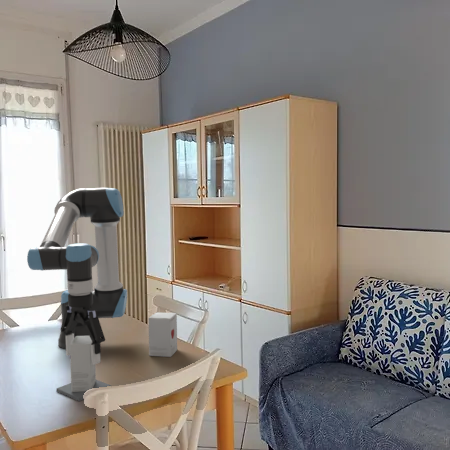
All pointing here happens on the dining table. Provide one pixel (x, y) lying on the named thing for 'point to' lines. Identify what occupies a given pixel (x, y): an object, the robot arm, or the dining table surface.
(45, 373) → the dining table surface
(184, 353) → the dining table surface
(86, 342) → the skincare box
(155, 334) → the supplement box
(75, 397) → the slate mat
